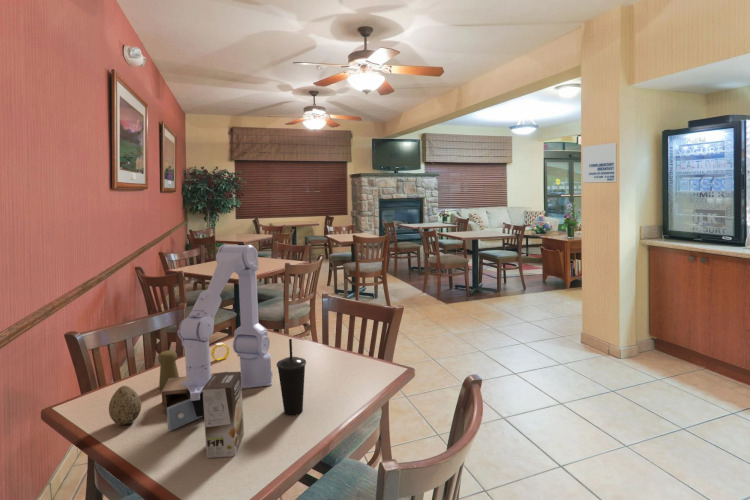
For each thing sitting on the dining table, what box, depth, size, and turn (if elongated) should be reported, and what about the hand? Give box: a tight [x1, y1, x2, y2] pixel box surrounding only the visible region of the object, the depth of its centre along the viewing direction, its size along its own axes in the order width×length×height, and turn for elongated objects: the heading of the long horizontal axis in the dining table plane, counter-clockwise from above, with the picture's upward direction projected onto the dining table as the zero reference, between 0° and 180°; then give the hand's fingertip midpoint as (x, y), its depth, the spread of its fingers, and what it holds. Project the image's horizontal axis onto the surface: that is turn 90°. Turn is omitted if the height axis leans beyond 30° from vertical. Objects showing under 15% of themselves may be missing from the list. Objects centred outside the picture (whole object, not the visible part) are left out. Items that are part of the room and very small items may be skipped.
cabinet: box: [161, 371, 224, 414], centre depth 120 cm, size 16×9×6 cm, turn 104°
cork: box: [157, 349, 180, 391], centre depth 130 cm, size 6×6×11 cm
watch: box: [210, 342, 230, 362], centre depth 152 cm, size 6×3×6 cm, turn 131°
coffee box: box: [202, 371, 245, 459], centre depth 97 cm, size 9×6×16 cm
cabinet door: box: [166, 399, 204, 432], centre depth 111 cm, size 17×3×6 cm, turn 142°
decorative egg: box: [108, 385, 142, 426], centre depth 109 cm, size 7×7×10 cm
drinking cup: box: [276, 338, 307, 417], centre depth 112 cm, size 8×8×20 cm
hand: (201, 415), depth 109 cm, fingers closed
